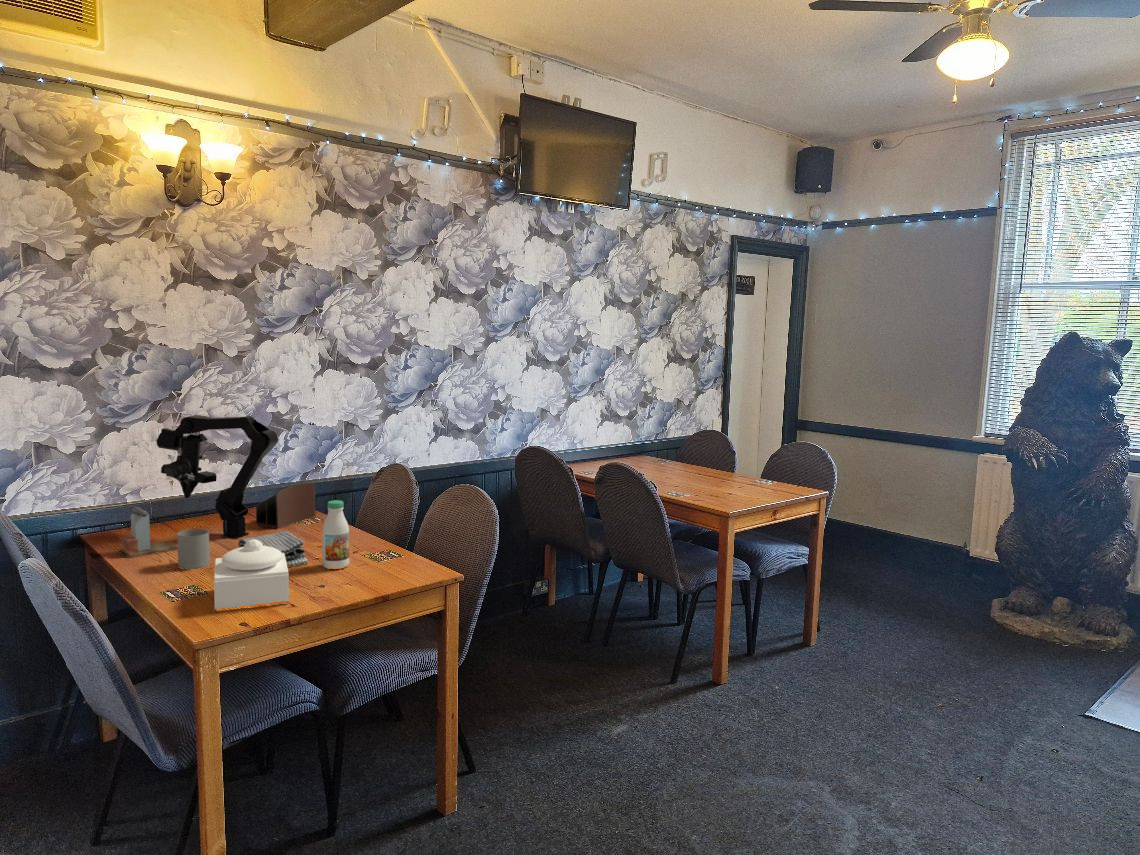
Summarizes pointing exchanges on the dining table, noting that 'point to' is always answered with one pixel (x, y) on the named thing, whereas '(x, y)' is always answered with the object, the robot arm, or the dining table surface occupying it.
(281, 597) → the white block with dome
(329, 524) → the milk bottle
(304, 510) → the letter holder
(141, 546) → the grey t-shaped piece
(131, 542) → the tan base plate
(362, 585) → the dining table surface
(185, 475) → the robot arm
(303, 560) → the towel
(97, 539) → the dining table surface
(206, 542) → the cup
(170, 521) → the dining table surface
